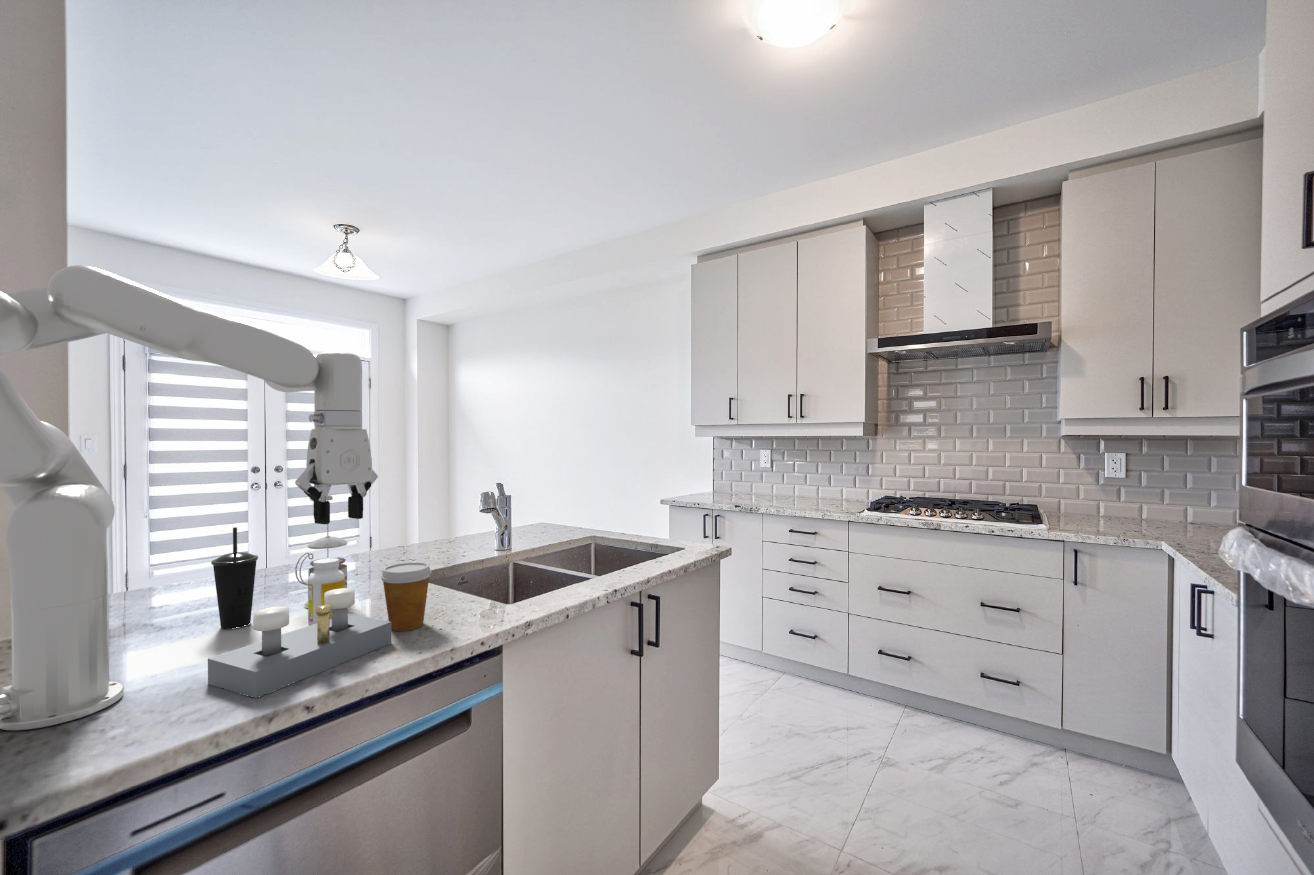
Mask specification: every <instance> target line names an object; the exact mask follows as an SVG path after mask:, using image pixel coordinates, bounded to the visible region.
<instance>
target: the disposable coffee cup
mask: <svg viewBox="0 0 1314 875" xmlns="http://www.w3.org/2000/svg"><path fill="white" fill-rule="evenodd" d="M431 574H432V570H431V567H430V565H429V563H425V562H418V561H417V562H413V561H412V562H402V563H394V564H391V565H388V566H385V567H383V570H382V573H381V574H380V575H379V576H380V579H381V581H382V584H383V589H384V590H383V592H384V597H385V604H386V610H387V611H386V612H387V618H388V620H387V621H390V622H391V631H394V632H405V631H412V630H416V629H419V628H420V627H422V626H423V625H424V619H425V614H426V613H425V612H426V604H427V597H428V588H429V581H430V577H431Z"/></svg>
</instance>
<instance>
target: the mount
mask: <svg viewBox="0 0 1314 875" xmlns="http://www.w3.org/2000/svg"><path fill="white" fill-rule="evenodd" d="M329 620H330V641H329V642H328V643H325V644H317V623H316V624H313V625H310V624H309V625H307V626H305V627H304V626H303V627H300V628H298V629H295V630H291V631H289V632H286V633H281V652H280V653H277V654H274V655H271V656H262V640H260V641H258V642H255V643H252V644H248V645H246V646H243V647H240V648H236V649H234V650H231V651H227V652H223V653H221V654H219V655H214V656H212V657H209V658H207V685H209V684H210V685H209V686H212V687H216V686H217V688H219V689H222V688H224V689H223V690H226V691H229V690H231V691H230V692H232V691H233V693H235V692H237V693H236V694H238V693H241V694H240V695H242V694H245V695H248V696H253V697H254V698H253V699H255V698H257V697H259V696H262V697H264V696H265V695H264V694H267V695H269V694H270V693H269V692H271V693H273V692H272V691H274V690H276V691H278V690H277V689H279V688H281V689H283V688H282V687H283V686H286V687H288V686H289V685H288V684H291V685H293V684H294V683H293V682H296V683H298V682H300V681H299V680H301V681H302V679H303V680H305V679H308V678H311V677H312V676H315V675H317V674H320V673H322V672H325V671H328V670H329V669H332V668H334V667H337V666H339V665H341V663H342V664H344V663H346V662H349V661H352V660H354V659H356V658H359V657H361V656H364V655H366V654H368V652H369V653H371V652H373V651H375V650H378V649H380V648H383V647H385V645H386V646H388V645H390V644H392V630H391V622H390V621H389V620H383V619H378V618H373V617H368V616H363V615H358V614H353V613H348V629H345V630H342V631H339V632H334V631H332V618H331V619H329ZM387 644H388V645H387ZM382 646H383V647H382ZM297 681H298V682H297ZM292 683H293V684H292ZM287 685H288V686H287ZM279 690H280V689H279ZM274 692H275V691H274ZM268 693H269V694H268ZM245 695H244V696H245ZM263 695H264V696H263ZM248 696H247V697H248ZM259 698H260V697H259ZM257 699H258V698H257Z"/></svg>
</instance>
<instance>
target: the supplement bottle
mask: <svg viewBox="0 0 1314 875" xmlns="http://www.w3.org/2000/svg"><path fill="white" fill-rule="evenodd" d="M337 558H338V557H328V558H327V557H325V559H324V558H319V559H320V560H318V559H315V560H316V561H314V560H313V561H314V562H313V566H312V567H313V568H314V569H315V571H314V573H313V574H312V573H311V574H310V576H309V578H307V584H308V586H307V598H308V599H307V601H308V609H307V611H308V612H307V616H308V617H307V619H308V625H309V626H310V625H313V624H316V623H317V614H316V607H317V606H321V605H324V593H325V592H327V591H330V590H334V589H341V588H345V575H344V573H343V572H342V571H340V570H338V567H339V559H337ZM331 618H332V609H331V612H330V613H329V619H331Z"/></svg>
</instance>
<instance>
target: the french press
mask: <svg viewBox="0 0 1314 875" xmlns="http://www.w3.org/2000/svg"><path fill="white" fill-rule="evenodd" d="M326 501H329V502H330V501H333V496H332V495H331V494H328V496H327V499H326ZM326 526H327V528H326V530H327V533H326V534H327V535H326V536H325V537H321V538H318V539H315V540H312V541H311V542H310V543H308V545H307V548H308V549H311V550H323V549H327V550H326V551H327V556H326V557H325V558H323V559H326V558H329V549H335V548H340V547H344V546H347V544H348V542H349V541H348V540H346V539H343V538H341V537H338V536H330V535H329V524H326ZM305 555H306V556H305ZM304 556H305V557H304ZM310 556H311V557H310ZM303 557H304V559H303V560H302V561H301V563H300V560H301V559H302V558H303ZM307 558H308V559H309V560H313V559H314V554H313V553H309V552H306V553H304V554H303V555H301V556H300V558H299V559H297V562H296V565H295V569H294V571H295V572H294V573H295V577H296V579H297V582H298V583H300V584H301V585H304V586H307V587H308V583H306V581H305V582H304V579H303V578H302V566H303V563H304V561H305V560H306V559H307ZM336 558H337V559H339V567H338V570H340V571H342V572H343V573H344V575H345V588H348V565H347V564H344V563H345V562H346V558H344V557H336ZM320 559H321V558H318V559H314V560H313V561H310V562H309V565H311V566H312V567H310V568H308V576H307V577H308V578H309V576H310V575H311V574H313V573H314V571H315V569H314V568H313V562H314V561H316V560H320ZM299 563H300V567H299V570H298V569H297V568H298V564H299ZM298 571H299V577H298ZM308 578H307V579H308ZM303 606H305V608H304V609H306V608H308V600H307V601H306V602H305V603H304V605H303Z"/></svg>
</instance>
